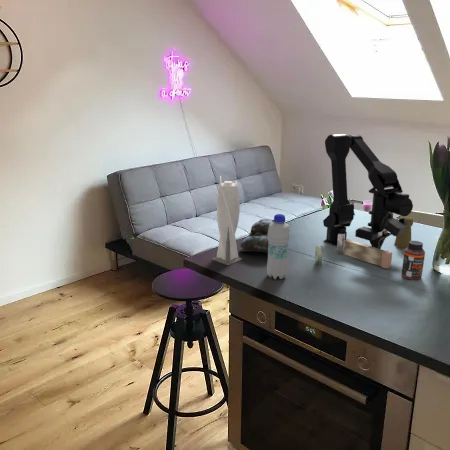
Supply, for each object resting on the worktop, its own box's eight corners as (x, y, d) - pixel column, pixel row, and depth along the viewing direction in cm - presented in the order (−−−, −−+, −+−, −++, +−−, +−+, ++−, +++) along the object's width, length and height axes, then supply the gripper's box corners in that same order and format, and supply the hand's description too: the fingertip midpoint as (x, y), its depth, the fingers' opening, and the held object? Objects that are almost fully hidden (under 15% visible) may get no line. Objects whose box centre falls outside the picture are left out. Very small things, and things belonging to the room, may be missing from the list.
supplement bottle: (411, 282, 153) (416, 247, 150) (397, 275, 158) (401, 241, 155) (425, 278, 156) (430, 244, 153) (410, 271, 161) (415, 238, 158)
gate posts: (313, 264, 166) (314, 244, 164) (338, 251, 178) (340, 232, 176) (319, 266, 165) (321, 245, 163) (344, 253, 177) (346, 234, 174)
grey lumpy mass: (232, 250, 178) (240, 212, 180) (259, 258, 184) (266, 221, 186) (256, 250, 165) (265, 210, 167) (285, 259, 171) (292, 219, 173)
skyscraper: (209, 258, 170) (209, 177, 162) (226, 252, 176) (226, 173, 167) (228, 265, 165) (229, 181, 156) (244, 258, 170) (246, 177, 162)
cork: (412, 249, 181) (416, 219, 178) (395, 247, 182) (398, 218, 179) (410, 243, 187) (413, 215, 183) (393, 242, 188) (396, 214, 185)
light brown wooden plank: (342, 254, 174) (343, 240, 173) (346, 252, 176) (348, 238, 174) (386, 268, 162) (388, 254, 160) (390, 266, 163) (392, 252, 162)
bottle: (289, 273, 158) (292, 212, 152) (285, 282, 152) (288, 218, 146) (268, 271, 160) (271, 210, 154) (263, 279, 154) (265, 216, 148)
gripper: (387, 219, 153) (382, 267, 158) (418, 208, 165) (413, 253, 169) (356, 211, 161) (352, 257, 166) (388, 202, 173) (383, 245, 177)
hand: (376, 253), depth 169 cm, fingers closed
